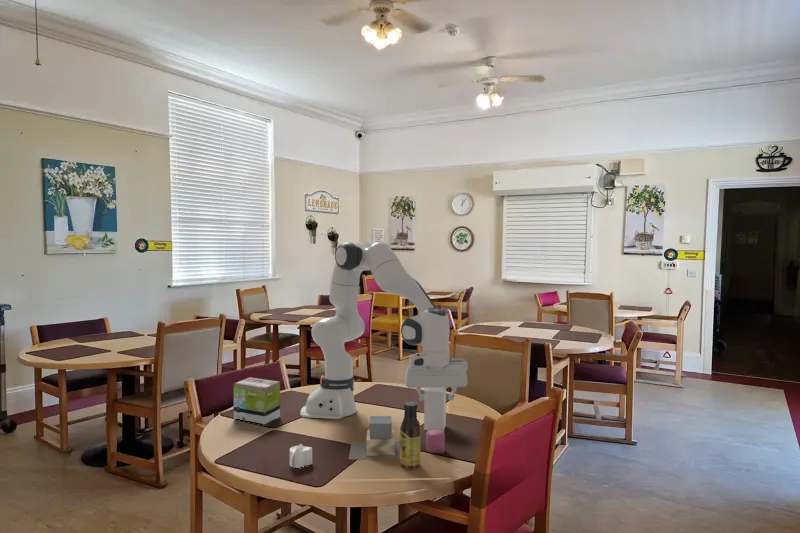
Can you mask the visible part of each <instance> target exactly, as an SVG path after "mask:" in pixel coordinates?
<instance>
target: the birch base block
mask: <svg viewBox="0 0 800 533" xmlns="http://www.w3.org/2000/svg"><path fill="white" fill-rule="evenodd" d="M395 438H396V437H395V429H392V439H370V429H367V430H366V441H365V442H366V456H390V455H395V441H396V439H395Z"/></svg>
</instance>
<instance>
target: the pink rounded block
mask: <svg viewBox="0 0 800 533" xmlns="http://www.w3.org/2000/svg"><path fill="white" fill-rule="evenodd" d="M445 436H446V434H445V431H444V432H443V431H441V430H426V435H425V437H426V440H425V441H426V442H425V443H426V444H425V447H426V451H427V452H428V453H430V454H441V453H442V454H444V453H445V446H446V444H445V443H446V442H445V441H446V440H445V439H446V437H445Z"/></svg>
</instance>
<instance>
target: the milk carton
mask: <svg viewBox="0 0 800 533" xmlns="http://www.w3.org/2000/svg"><path fill="white" fill-rule="evenodd" d="M423 392H424V393H423V394H424V401H423V402H424V404H423V405H424V407H423V408H424V410H423V412H424V413H423V414H424V415H423V418H424V419H423V421H424V422H423V428H424V429H423V430H424V431H429V430H441V431H443V432H444V433H445V429H446V425H447V424H446V423H447V422H446V421H447V420H446V419H447V387H426V388H424V391H423Z"/></svg>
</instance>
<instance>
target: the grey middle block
mask: <svg viewBox="0 0 800 533" xmlns="http://www.w3.org/2000/svg"><path fill="white" fill-rule="evenodd" d="M392 427H393V426H392V416H391V415H382V416H381V415H379V416H378V415H373V416H372V415H369V430H370V439H392V430H393V428H392Z"/></svg>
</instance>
